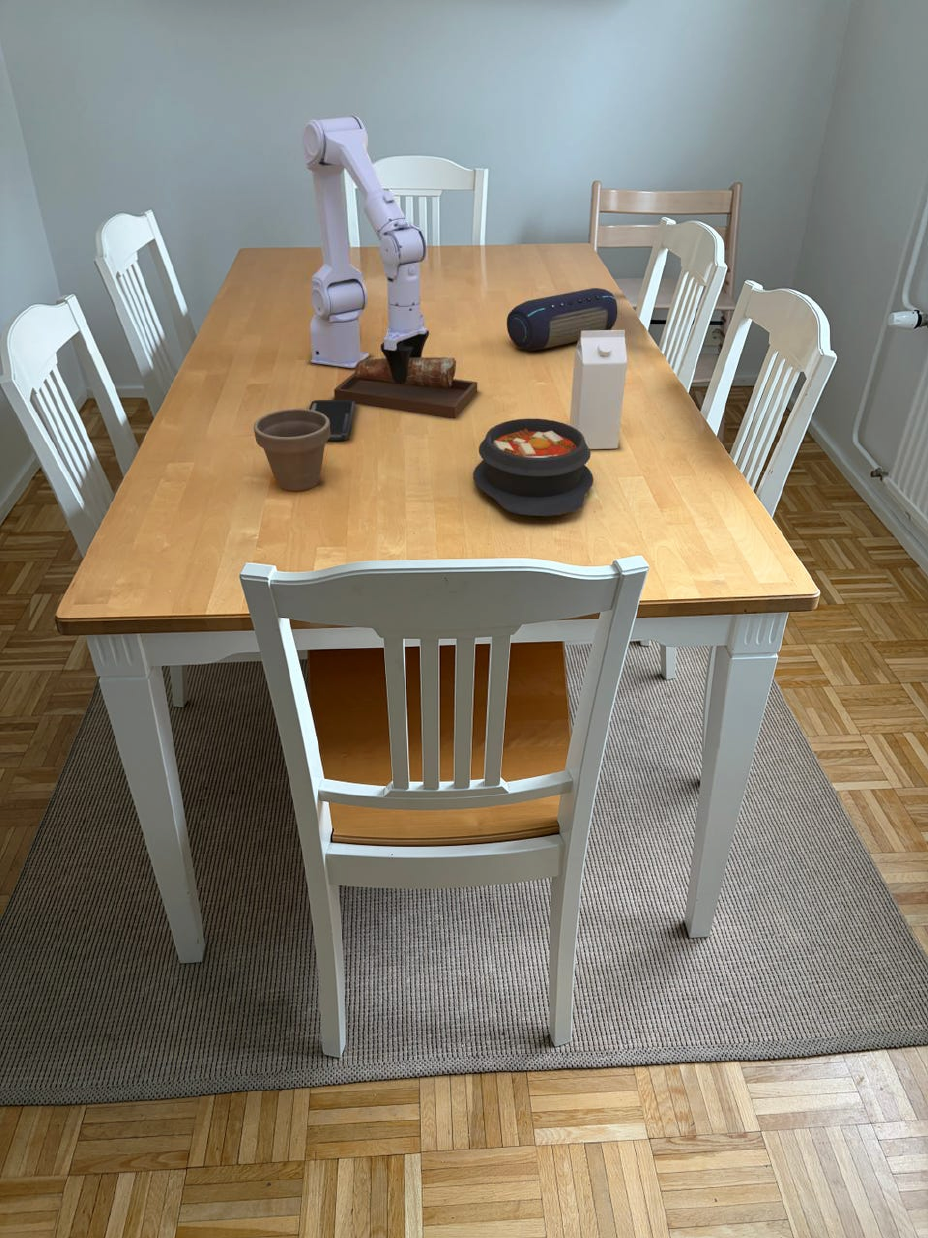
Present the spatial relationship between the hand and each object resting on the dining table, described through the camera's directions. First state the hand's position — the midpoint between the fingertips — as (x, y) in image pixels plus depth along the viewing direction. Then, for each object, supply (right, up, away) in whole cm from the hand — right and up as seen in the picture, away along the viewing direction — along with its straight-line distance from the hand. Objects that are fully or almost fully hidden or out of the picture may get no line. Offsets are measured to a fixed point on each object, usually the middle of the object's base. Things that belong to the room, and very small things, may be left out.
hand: (406, 376), depth 175 cm
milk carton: (+33, -14, -13) cm, 38 cm away
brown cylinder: (0, -2, 0) cm, 2 cm away
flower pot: (-15, -23, -26) cm, 38 cm away
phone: (-13, -10, -8) cm, 18 cm away
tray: (0, -3, +2) cm, 4 cm away
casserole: (+21, -24, -27) cm, 42 cm away
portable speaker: (+32, +14, +27) cm, 44 cm away
